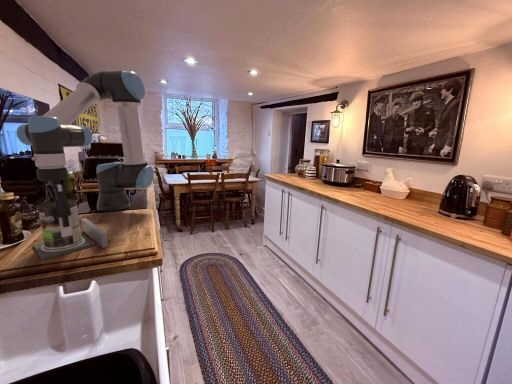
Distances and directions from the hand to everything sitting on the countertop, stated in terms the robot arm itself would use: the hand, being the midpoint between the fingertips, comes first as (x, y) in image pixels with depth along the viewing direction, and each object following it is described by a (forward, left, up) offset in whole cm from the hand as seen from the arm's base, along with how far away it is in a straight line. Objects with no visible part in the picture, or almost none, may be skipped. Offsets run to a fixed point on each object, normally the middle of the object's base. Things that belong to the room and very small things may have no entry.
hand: (61, 230), depth 83 cm
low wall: (0, +9, -6) cm, 11 cm away
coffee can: (0, 0, -5) cm, 5 cm away
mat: (0, 0, -6) cm, 6 cm away
